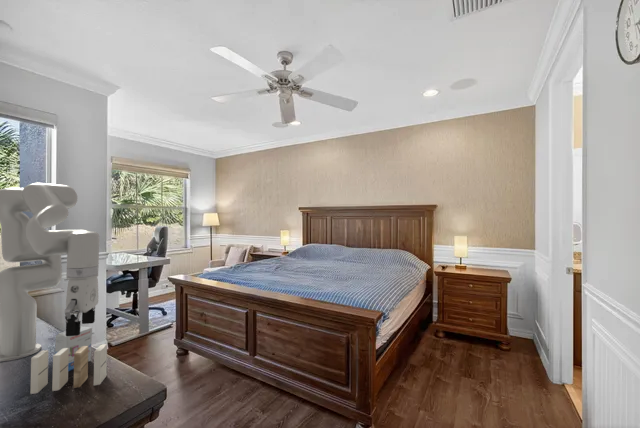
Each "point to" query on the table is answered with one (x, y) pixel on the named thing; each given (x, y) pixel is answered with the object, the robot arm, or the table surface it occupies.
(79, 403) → the table surface
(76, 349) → the ink box
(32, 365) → the domino
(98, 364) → the domino
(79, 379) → the domino
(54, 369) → the domino
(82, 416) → the table surface
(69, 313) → the robot arm
